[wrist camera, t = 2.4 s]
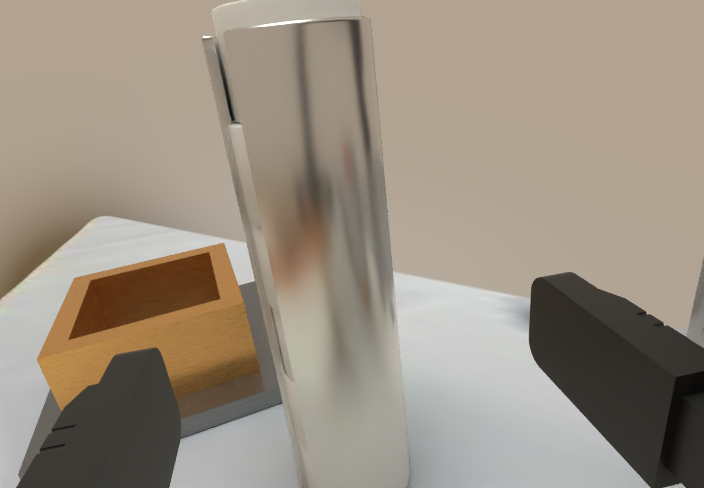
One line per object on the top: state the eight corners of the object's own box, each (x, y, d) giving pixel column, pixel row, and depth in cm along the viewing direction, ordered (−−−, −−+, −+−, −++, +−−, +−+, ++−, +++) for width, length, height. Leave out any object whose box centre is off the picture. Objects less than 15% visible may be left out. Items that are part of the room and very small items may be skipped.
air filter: (296, 444, 29) (203, 16, 19) (392, 421, 30) (350, 0, 20) (306, 541, 23) (180, -5, 14) (426, 508, 24) (388, -26, 14)
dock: (259, 292, 49) (245, 229, 46) (303, 395, 33) (286, 308, 30) (77, 342, 44) (48, 274, 41) (27, 492, 28) (-26, 398, 25)
